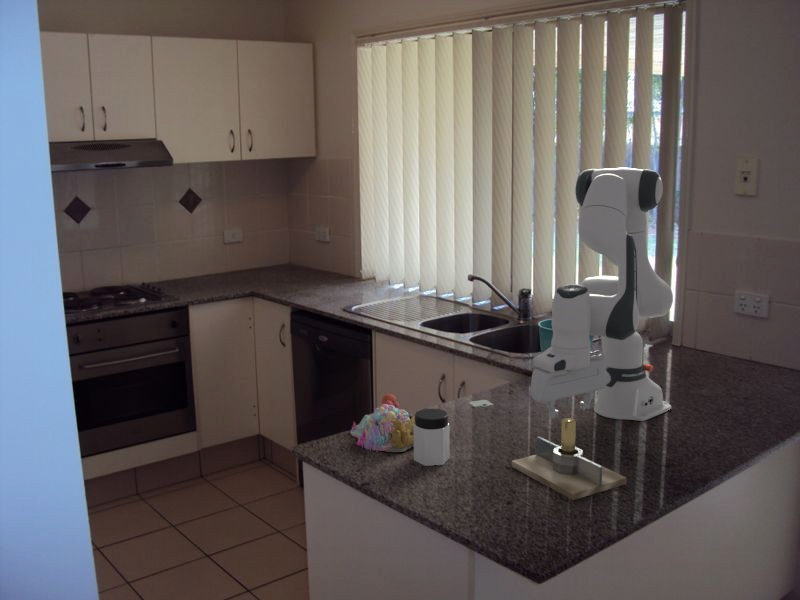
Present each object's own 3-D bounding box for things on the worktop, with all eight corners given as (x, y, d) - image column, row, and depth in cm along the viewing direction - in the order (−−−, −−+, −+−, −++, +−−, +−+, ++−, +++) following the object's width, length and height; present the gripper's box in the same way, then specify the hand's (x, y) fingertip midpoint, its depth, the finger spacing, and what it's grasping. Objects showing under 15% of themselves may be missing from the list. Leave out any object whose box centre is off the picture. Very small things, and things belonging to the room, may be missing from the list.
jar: (423, 451, 218) (423, 406, 216) (453, 455, 215) (453, 410, 213) (409, 463, 210) (408, 417, 208) (440, 468, 207) (440, 421, 205)
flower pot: (561, 363, 293) (562, 315, 290) (605, 375, 280) (606, 324, 276) (526, 374, 282) (526, 324, 278) (569, 386, 268) (570, 333, 265)
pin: (568, 465, 204) (569, 417, 202) (577, 469, 201) (578, 421, 199) (558, 468, 203) (558, 419, 200) (567, 472, 200) (568, 423, 197)
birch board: (562, 453, 215) (562, 447, 215) (626, 484, 197) (626, 477, 197) (511, 466, 208) (511, 460, 207) (572, 500, 189) (573, 493, 189)
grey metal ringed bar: (548, 451, 213) (548, 434, 212) (611, 482, 194) (612, 463, 193) (527, 456, 210) (527, 439, 209) (589, 488, 191) (589, 470, 190)
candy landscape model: (456, 435, 230) (456, 402, 228) (397, 462, 213) (397, 426, 211) (388, 415, 246) (387, 384, 244) (328, 438, 229) (327, 405, 227)
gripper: (595, 345, 204) (593, 401, 207) (527, 360, 194) (526, 417, 197) (614, 352, 199) (612, 408, 202) (545, 367, 189) (544, 426, 192)
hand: (569, 413), depth 199 cm, fingers open, 8 cm apart
